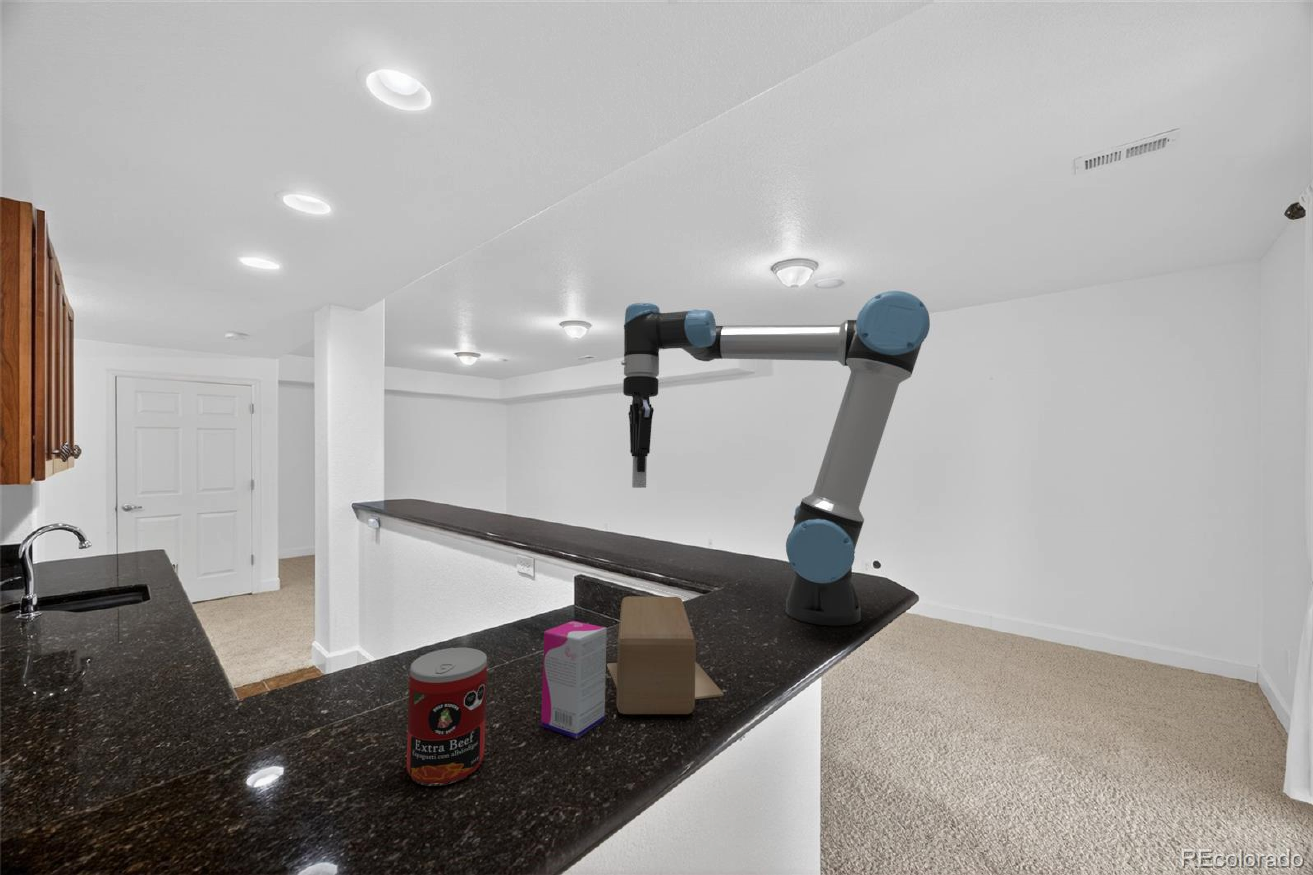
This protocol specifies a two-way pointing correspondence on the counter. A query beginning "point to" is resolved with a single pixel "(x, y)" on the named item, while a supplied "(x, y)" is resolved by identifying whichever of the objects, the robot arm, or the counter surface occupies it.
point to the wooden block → (655, 657)
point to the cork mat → (702, 682)
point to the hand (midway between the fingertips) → (639, 487)
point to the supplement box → (573, 678)
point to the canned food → (446, 714)
